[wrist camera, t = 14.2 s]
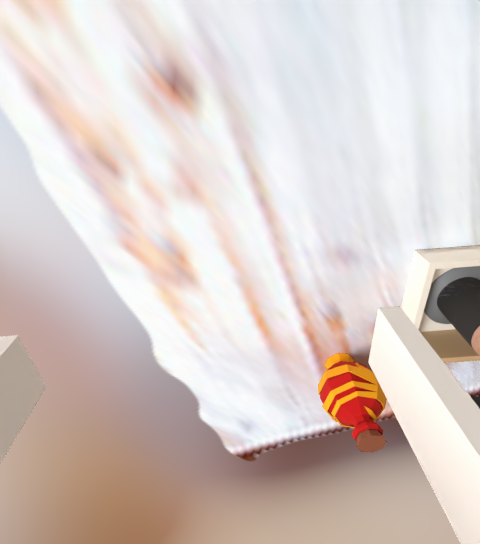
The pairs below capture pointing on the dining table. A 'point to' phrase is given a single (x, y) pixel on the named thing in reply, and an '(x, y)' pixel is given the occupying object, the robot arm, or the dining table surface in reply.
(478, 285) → the travel mug
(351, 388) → the potion bottle
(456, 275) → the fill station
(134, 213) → the dining table surface
